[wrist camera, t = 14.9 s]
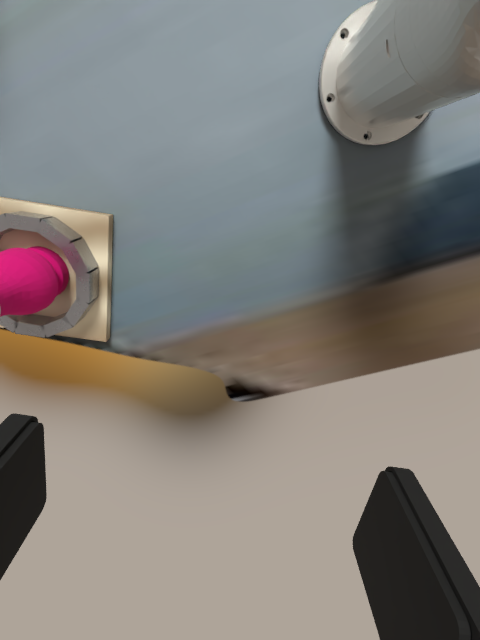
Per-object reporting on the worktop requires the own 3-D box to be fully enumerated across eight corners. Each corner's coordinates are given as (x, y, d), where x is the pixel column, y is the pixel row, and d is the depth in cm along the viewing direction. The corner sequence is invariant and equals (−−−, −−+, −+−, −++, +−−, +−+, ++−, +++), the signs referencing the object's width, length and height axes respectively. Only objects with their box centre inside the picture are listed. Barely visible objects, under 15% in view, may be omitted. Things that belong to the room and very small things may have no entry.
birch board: (-27, 192, 41) (-37, 192, 39) (113, 214, 42) (108, 215, 40) (-13, 320, 47) (-21, 324, 45) (110, 337, 48) (106, 341, 46)
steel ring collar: (-26, 203, 40) (-46, 205, 37) (99, 223, 41) (89, 226, 38) (-14, 318, 45) (-30, 327, 42) (98, 333, 46) (89, 343, 43)
